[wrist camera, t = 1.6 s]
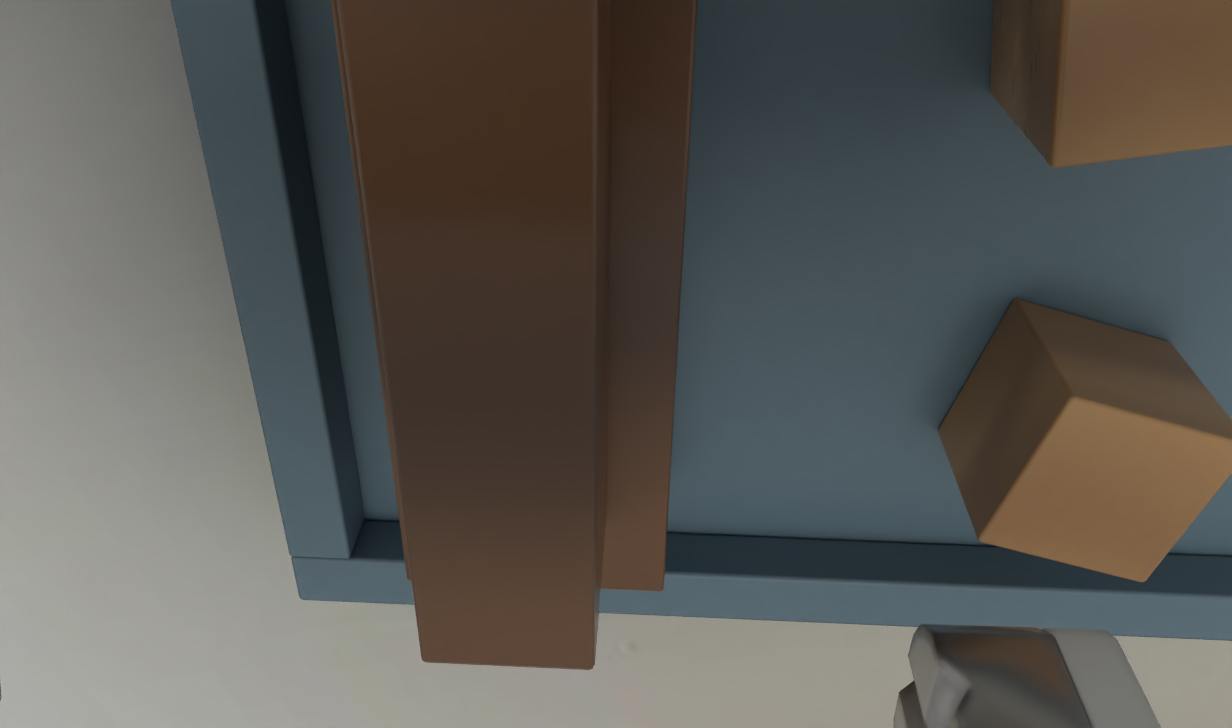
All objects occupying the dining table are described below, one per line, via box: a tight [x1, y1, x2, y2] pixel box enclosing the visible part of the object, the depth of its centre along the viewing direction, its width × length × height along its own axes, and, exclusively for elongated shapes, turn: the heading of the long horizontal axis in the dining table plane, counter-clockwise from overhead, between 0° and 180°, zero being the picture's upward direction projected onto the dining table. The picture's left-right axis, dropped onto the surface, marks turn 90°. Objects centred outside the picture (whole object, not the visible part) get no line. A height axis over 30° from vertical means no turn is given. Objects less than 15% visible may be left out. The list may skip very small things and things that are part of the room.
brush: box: [330, 0, 698, 670], centre depth 14 cm, size 12×4×6 cm, turn 179°
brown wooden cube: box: [938, 299, 1232, 582], centre depth 17 cm, size 3×3×3 cm
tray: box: [171, 0, 1232, 641], centre depth 16 cm, size 17×22×2 cm
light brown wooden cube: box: [990, 0, 1232, 168], centre depth 13 cm, size 3×3×3 cm
